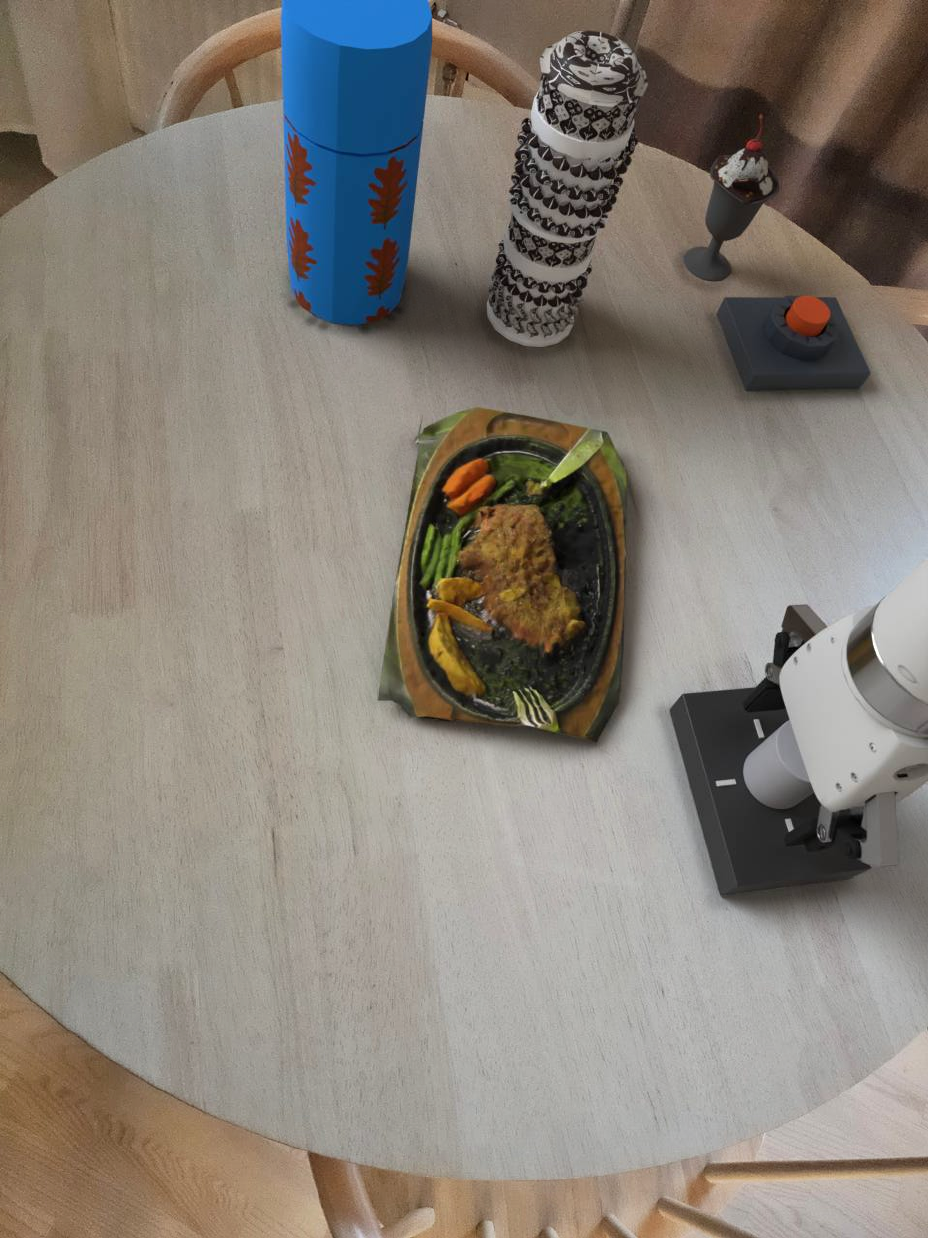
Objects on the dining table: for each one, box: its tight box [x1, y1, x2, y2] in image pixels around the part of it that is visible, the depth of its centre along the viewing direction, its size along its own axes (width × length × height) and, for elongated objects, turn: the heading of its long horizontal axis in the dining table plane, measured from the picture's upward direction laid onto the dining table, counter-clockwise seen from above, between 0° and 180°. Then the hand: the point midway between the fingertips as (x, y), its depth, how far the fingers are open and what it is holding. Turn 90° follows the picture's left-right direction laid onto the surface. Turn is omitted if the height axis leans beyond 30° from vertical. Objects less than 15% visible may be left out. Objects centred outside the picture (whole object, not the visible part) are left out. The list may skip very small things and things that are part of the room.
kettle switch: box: [786, 295, 830, 337], centre depth 89 cm, size 4×4×2 cm
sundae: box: [683, 113, 780, 282], centre depth 90 cm, size 7×7×15 cm
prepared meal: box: [377, 406, 628, 744], centre depth 74 cm, size 28×4×18 cm
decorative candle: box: [486, 29, 649, 348], centre depth 79 cm, size 9×9×25 cm
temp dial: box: [743, 720, 814, 809], centre depth 64 cm, size 5×5×6 cm
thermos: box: [280, 0, 433, 326], centre depth 77 cm, size 11×11×25 cm
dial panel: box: [669, 686, 872, 897], centre depth 68 cm, size 14×10×3 cm
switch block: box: [716, 295, 872, 392], centre depth 91 cm, size 12×10×4 cm
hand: (782, 771), depth 66 cm, fingers open, 9 cm apart
